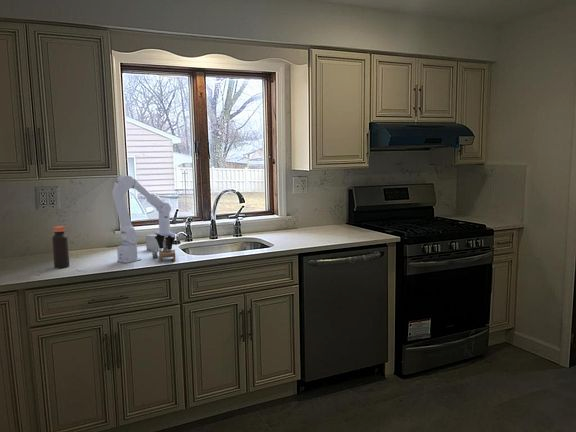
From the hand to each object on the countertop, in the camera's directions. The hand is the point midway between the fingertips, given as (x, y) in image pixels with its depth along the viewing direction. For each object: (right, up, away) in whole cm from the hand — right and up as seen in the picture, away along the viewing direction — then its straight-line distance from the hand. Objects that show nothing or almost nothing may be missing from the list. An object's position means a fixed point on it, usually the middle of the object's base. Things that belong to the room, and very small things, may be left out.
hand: (165, 249), depth 257 cm
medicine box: (-10, -2, +15) cm, 18 cm away
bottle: (-44, -7, -25) cm, 52 cm away
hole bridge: (+4, -5, -12) cm, 14 cm away
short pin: (-4, -4, -7) cm, 9 cm away
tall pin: (0, -3, 0) cm, 3 cm away
